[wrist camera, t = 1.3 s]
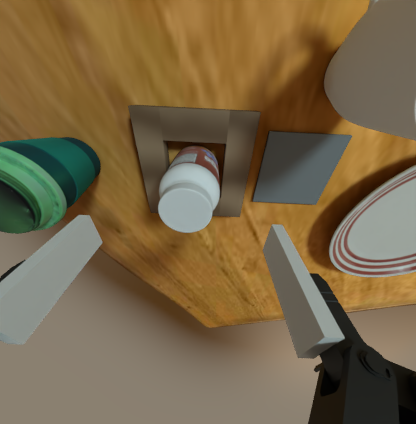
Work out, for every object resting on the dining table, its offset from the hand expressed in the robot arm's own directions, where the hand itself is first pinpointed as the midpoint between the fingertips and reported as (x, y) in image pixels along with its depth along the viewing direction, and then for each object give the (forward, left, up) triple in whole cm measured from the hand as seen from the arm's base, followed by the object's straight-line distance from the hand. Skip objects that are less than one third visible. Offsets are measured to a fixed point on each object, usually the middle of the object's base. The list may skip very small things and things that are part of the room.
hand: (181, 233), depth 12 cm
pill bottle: (0, 0, -13) cm, 13 cm away
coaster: (0, +14, -13) cm, 19 cm away
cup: (-1, -15, -13) cm, 20 cm away
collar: (0, 0, -13) cm, 13 cm away
